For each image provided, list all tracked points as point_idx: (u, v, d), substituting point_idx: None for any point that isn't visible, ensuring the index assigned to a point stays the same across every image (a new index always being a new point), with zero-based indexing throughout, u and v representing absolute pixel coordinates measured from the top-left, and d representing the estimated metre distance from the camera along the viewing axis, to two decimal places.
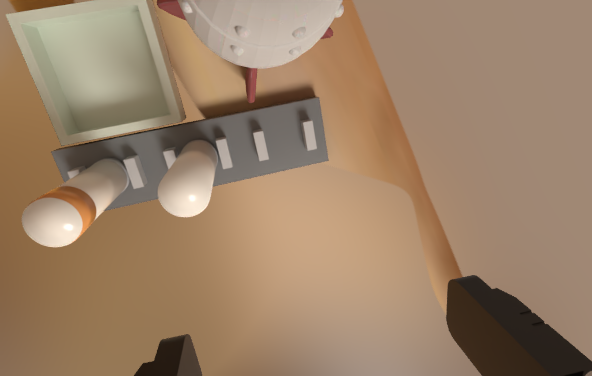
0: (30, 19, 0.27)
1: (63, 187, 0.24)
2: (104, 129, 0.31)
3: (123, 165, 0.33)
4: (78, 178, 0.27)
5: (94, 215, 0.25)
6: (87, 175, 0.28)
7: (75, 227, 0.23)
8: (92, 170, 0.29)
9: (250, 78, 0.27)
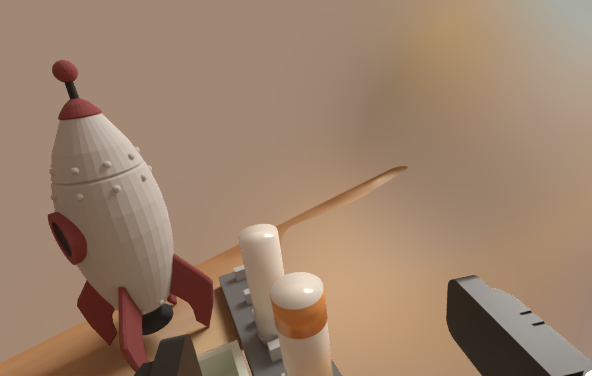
0: None
1: (274, 320, 0.23)
2: None
3: None
4: (280, 347, 0.24)
5: None
6: None
7: (298, 275, 0.24)
8: (284, 371, 0.25)
9: (187, 264, 0.36)
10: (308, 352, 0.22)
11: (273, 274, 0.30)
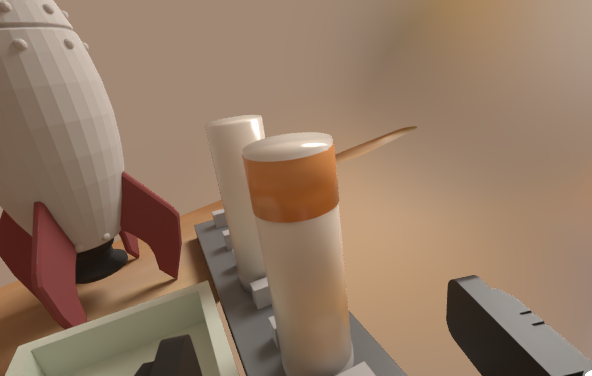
0: None
1: (251, 203, 0.14)
2: (217, 356, 0.17)
3: None
4: None
5: None
6: (265, 268, 0.15)
7: (289, 135, 0.15)
8: None
9: (142, 187, 0.26)
10: (309, 249, 0.13)
11: None
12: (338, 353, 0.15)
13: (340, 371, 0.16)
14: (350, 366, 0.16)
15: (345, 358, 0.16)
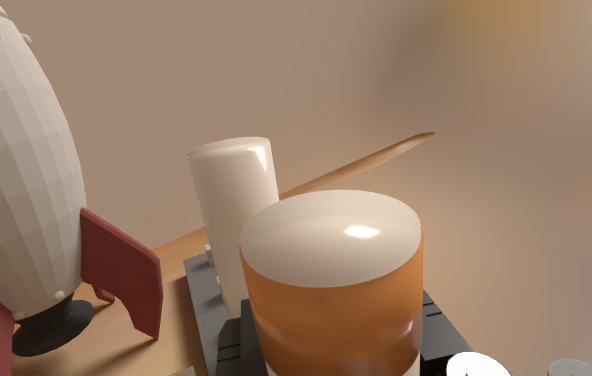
0: None
1: (256, 329, 0.07)
2: None
3: None
4: None
5: None
6: None
7: (325, 196, 0.08)
8: None
9: (109, 227, 0.20)
10: None
11: None
12: None
13: None
14: None
15: None
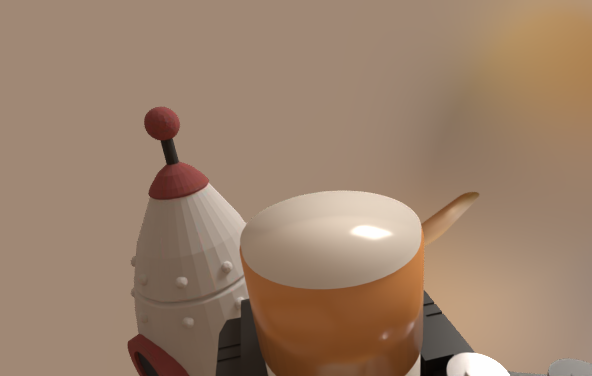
0: None
1: (256, 330, 0.07)
2: None
3: None
4: None
5: None
6: None
7: (326, 197, 0.08)
8: None
9: None
10: None
11: None
12: None
13: None
14: None
15: None
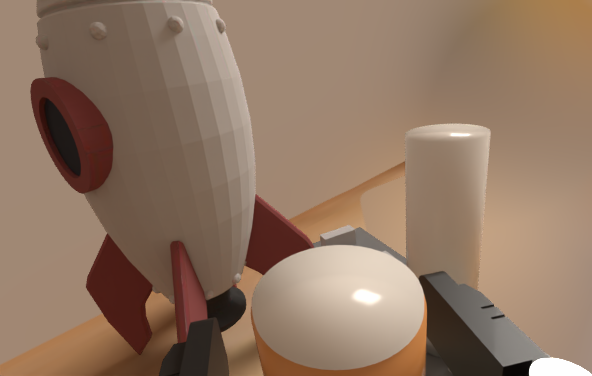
0: None
1: None
2: None
3: None
4: None
5: None
6: None
7: (332, 253, 0.09)
8: None
9: (277, 213, 0.21)
10: None
11: (479, 212, 0.15)
12: None
13: None
14: None
15: None
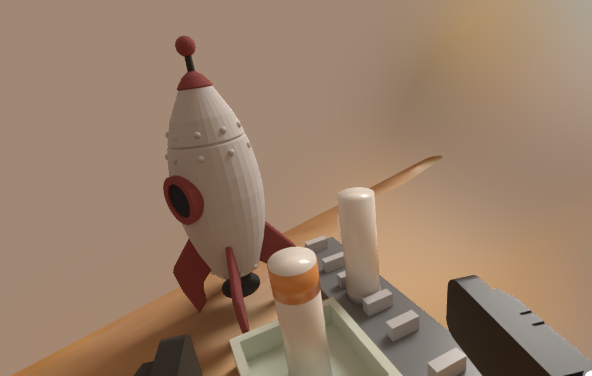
0: None
1: None
2: (365, 344, 0.28)
3: None
4: None
5: None
6: None
7: (293, 249, 0.26)
8: (282, 340, 0.27)
9: (276, 231, 0.38)
10: (303, 318, 0.24)
11: (371, 231, 0.33)
12: (321, 373, 0.27)
13: None
14: None
15: (326, 375, 0.27)
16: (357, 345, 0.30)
